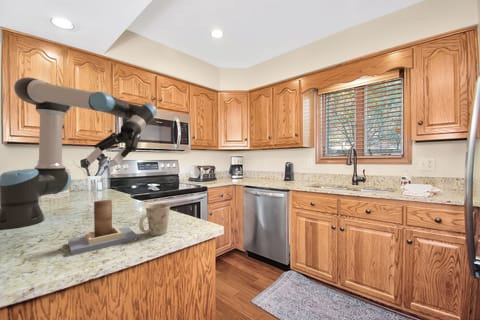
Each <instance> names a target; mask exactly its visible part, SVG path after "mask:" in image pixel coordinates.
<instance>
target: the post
mask: <svg viewBox="0 0 480 320" xmlns="http://www.w3.org/2000/svg"><path fill="white" fill-rule="evenodd" d="M112 202H113V201H112V199H102V200H101V199H100V200H95V201H94V202H93V221H94V223H93V224H94V227H93V229H94V230H93V231H94V233H95V238H96V237H101V236H106V235H110V234H112V227H113V212H112V211H113V210H112V209H113V207H112V205H113V203H112Z"/></svg>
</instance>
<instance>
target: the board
mask: <svg viewBox="0 0 480 320" xmlns="http://www.w3.org/2000/svg"><path fill="white" fill-rule="evenodd" d="M84 234H85V235H81V236H77V237H71V238H68V239H67V240H68V241H67V243H68V244H67V245H68V249H69V252H70V256H76V255H79V254H83V253H88V252H92V251H96V250H101V249H104V248H109V247H112V246H118V245H120V244H126V243H129V242H133V241H137V240H138V239H139V236H138V233H136V232H135V231H133V229H131V228H130V227H129V226H126V227H122V228H118V227H117V226H112V234H110V235H106V236H101V237H96V238H95V233H94V230H92V231H85V233H84Z"/></svg>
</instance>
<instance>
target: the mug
mask: <svg viewBox="0 0 480 320" xmlns="http://www.w3.org/2000/svg"><path fill="white" fill-rule="evenodd" d="M170 208H171V205H170V204H169V203H156V204H150V205H147V206H146V207H145V209H146V213H144V214H143V215H142V216H141V218H140V220H139V224H138V225H139V226H138V227H139V230H140V232H142V233H143V234H147V233H149V235H151V236H161V235H164V234H167V233H168V229H169V228H168V227H169V218H170ZM146 218H147V223H148V229H147V230H146V229H145V228H144V226H143V225H144V220H145V219H146Z"/></svg>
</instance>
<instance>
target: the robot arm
mask: <svg viewBox="0 0 480 320" xmlns="http://www.w3.org/2000/svg"><path fill="white" fill-rule="evenodd" d="M13 90H14V92H15V93H14V94H16V96H17V97H18V98H19V99H20V100H22V101H23V102H25V103H28V104H30V105H34V106H35V111H36V112H37V113H38V114H39V132H38V133H39V139H38V140H39V141H38V142H39V144H38V147H39V148H38V164H37V165H35V166H34V168H25V169H16V170H15V169H14V170H10V171H4V172H3V173H1V174H0V230H5V229H6V230H8V229H9V230H10V229H16V228H23V227H28V226H29V227H30V226H33V225H36V224H39V223H43V221H44V220H45V215H44V212H43V210H42V209H41V207H40V204H39V197H43V196H48V195H56V194H58V193H63V192H64V191H66V190H67V189H68V188H69V187H70V185H71V182H72V177H71V174H70V173H69V172H68V171H67V170H66V166H65V165H64V164H63V120H64V119H63V118H64V117H65V116H66V115H67V112H68V111H70V110H71V108H72V107H75V108H80V109H85V110H91V111H96V112H101V113H106V114H110V115H113V116H116V117H118V118H122V119H126V121H125V122H124V123H123V124H122V125H121V126H120V132H118V133H115V132H112V133H111V134H110V135H108V136H107V137H105V138H104V139H102V140H100V141H99V142H97V143H96V144H94V145H93V147H94V148H95V149H94V150H93V151H92V152H91V153H90V154H89V155H87V157H86V158H85V160H86V161H87V162H88V163H89V164H93V163H94V162H95V161H96V160H97V159H98V158H99V157H100V156H102V154H103V151H106V150H107V149H109V148H111V147H113V146H115V145H119V144H124V147H122V148H121V149H120V150H119V152H118V153H117V154H115V156H114V157H113V158H112V161H113V162H114V163H115V165H118V166H119V164H121V162H122V161H123V160H125V159H124V158H126V157H127V156H128V155H129V153H131V152H132V151H133V152H136V151H137V148H138V145H139V141H140V139H141V133H143V131H144V130H145V129H146V127H148V125H149V124H150V123H151V122H152V121H153V120H154V119H155V117H156V116H157V113H158V111H157V109H156V107H155V106H154V105H153V104H152V103H150V102H146V103H143V104H142V105H138V104H134V103H129V102H127V101H125V100H123V99H119V98H117V97H115V96H112V94H111V95H110V94H109V93H107V92H102V91H95V92H94V91H90V90H89V91H88V90H84V89H79V88H74V87H67V86H61V85H55V84H53V83H52V84H51V83H49V82H45V81H43V80H42V79H38V78H34V77H22V78H19V79H18V80H16V81H15V83H14V86H13Z"/></svg>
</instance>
